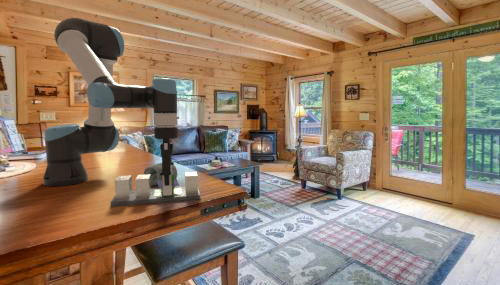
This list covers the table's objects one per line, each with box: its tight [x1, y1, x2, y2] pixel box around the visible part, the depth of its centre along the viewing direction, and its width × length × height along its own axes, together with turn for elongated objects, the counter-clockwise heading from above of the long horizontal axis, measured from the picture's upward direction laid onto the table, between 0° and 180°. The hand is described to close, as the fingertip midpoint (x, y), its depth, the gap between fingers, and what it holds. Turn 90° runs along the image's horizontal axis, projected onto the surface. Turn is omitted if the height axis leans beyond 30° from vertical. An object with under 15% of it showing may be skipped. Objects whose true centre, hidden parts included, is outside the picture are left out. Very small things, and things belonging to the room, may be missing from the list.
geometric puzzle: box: [157, 174, 180, 192], centre depth 90 cm, size 7×7×8 cm
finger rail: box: [110, 171, 201, 208], centre depth 89 cm, size 11×27×8 cm, turn 105°
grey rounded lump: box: [143, 162, 178, 187], centre depth 108 cm, size 14×10×10 cm
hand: (168, 188), depth 90 cm, fingers open, 13 cm apart
